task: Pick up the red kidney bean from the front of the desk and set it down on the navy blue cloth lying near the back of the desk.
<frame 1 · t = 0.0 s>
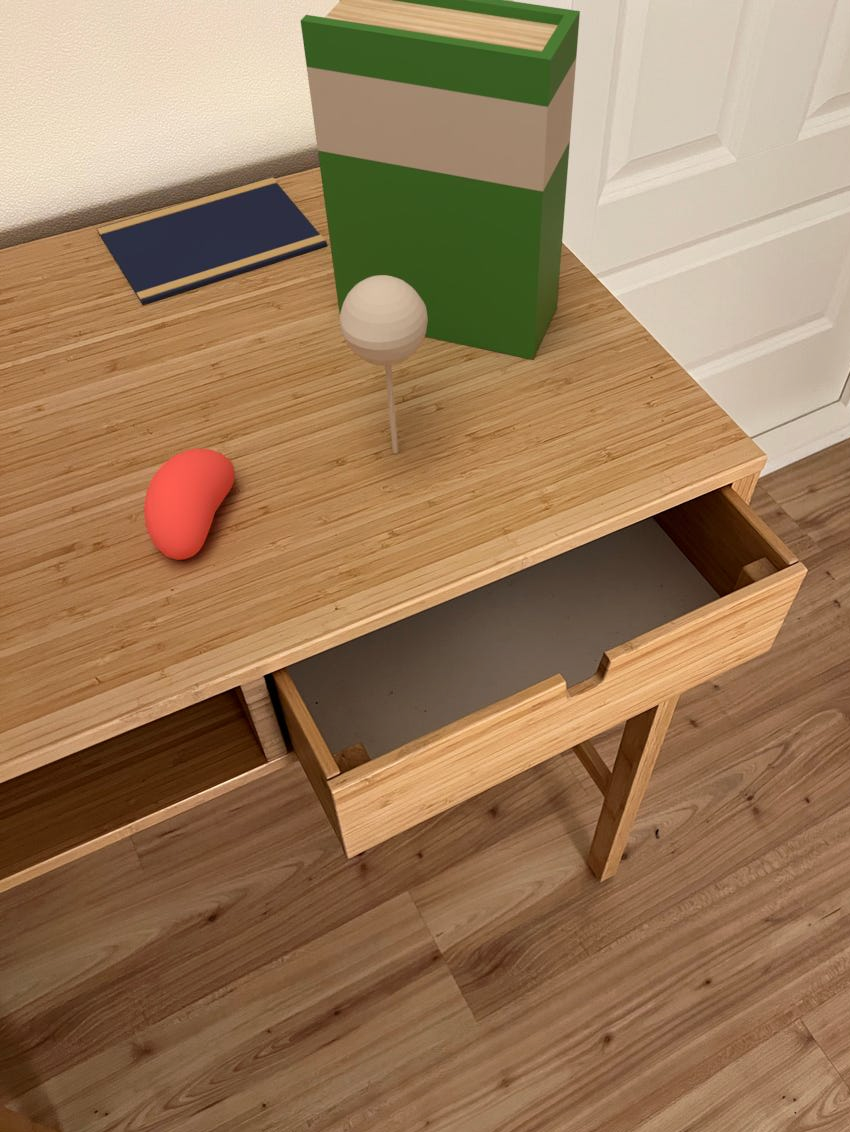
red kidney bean: (197, 521, 74), on the table
lollipop: (395, 453, 78), on the table
hardback book: (449, 315, 88), on the table
cloth: (211, 239, 94), on the table
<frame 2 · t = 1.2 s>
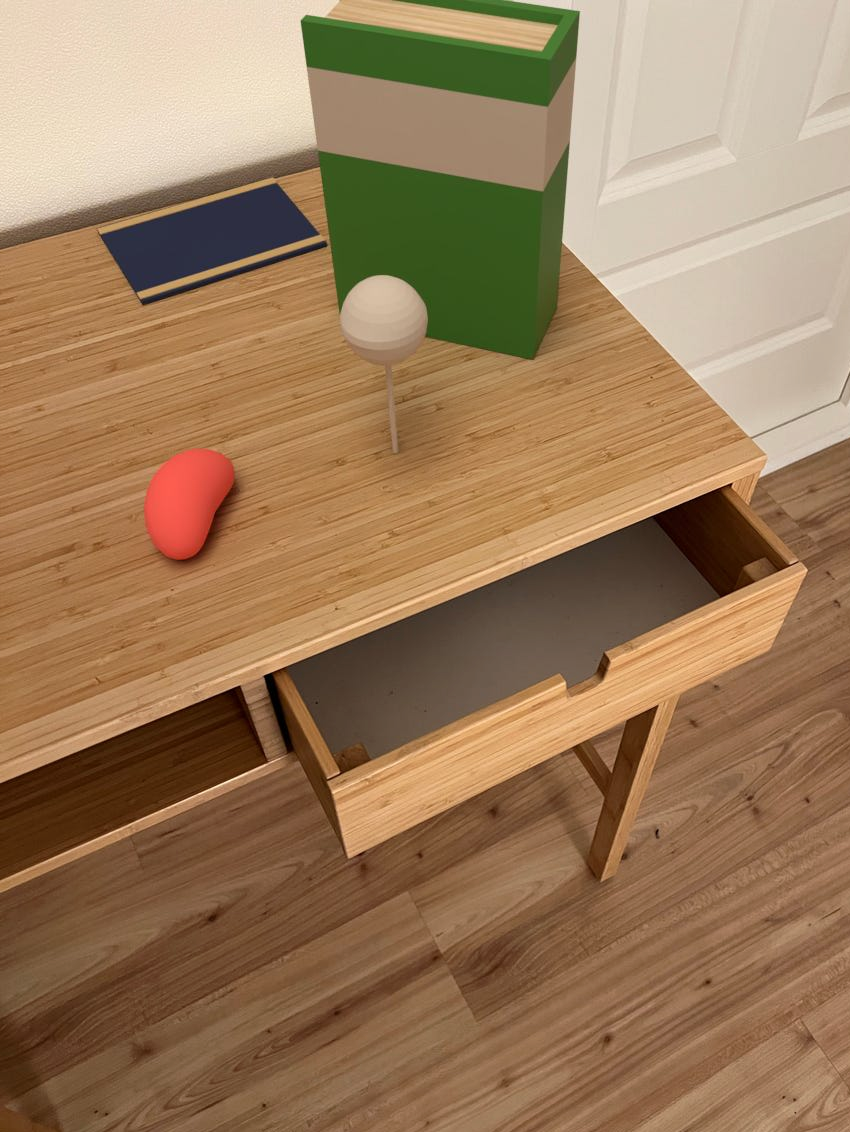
nothing on the table moved.
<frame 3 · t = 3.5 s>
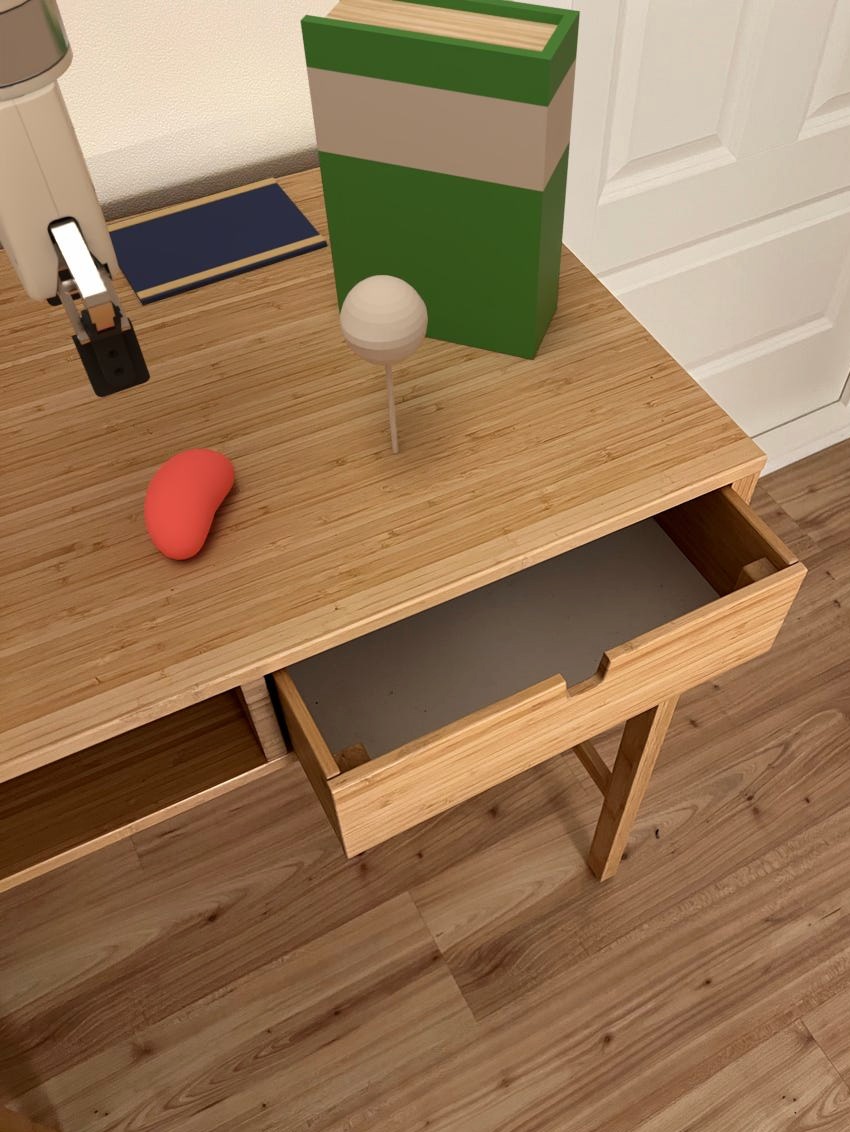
hand: (97, 340, 60), 16 cm above the table, tool pointing down, fingers open, 9 cm apart
nothing on the table moved.
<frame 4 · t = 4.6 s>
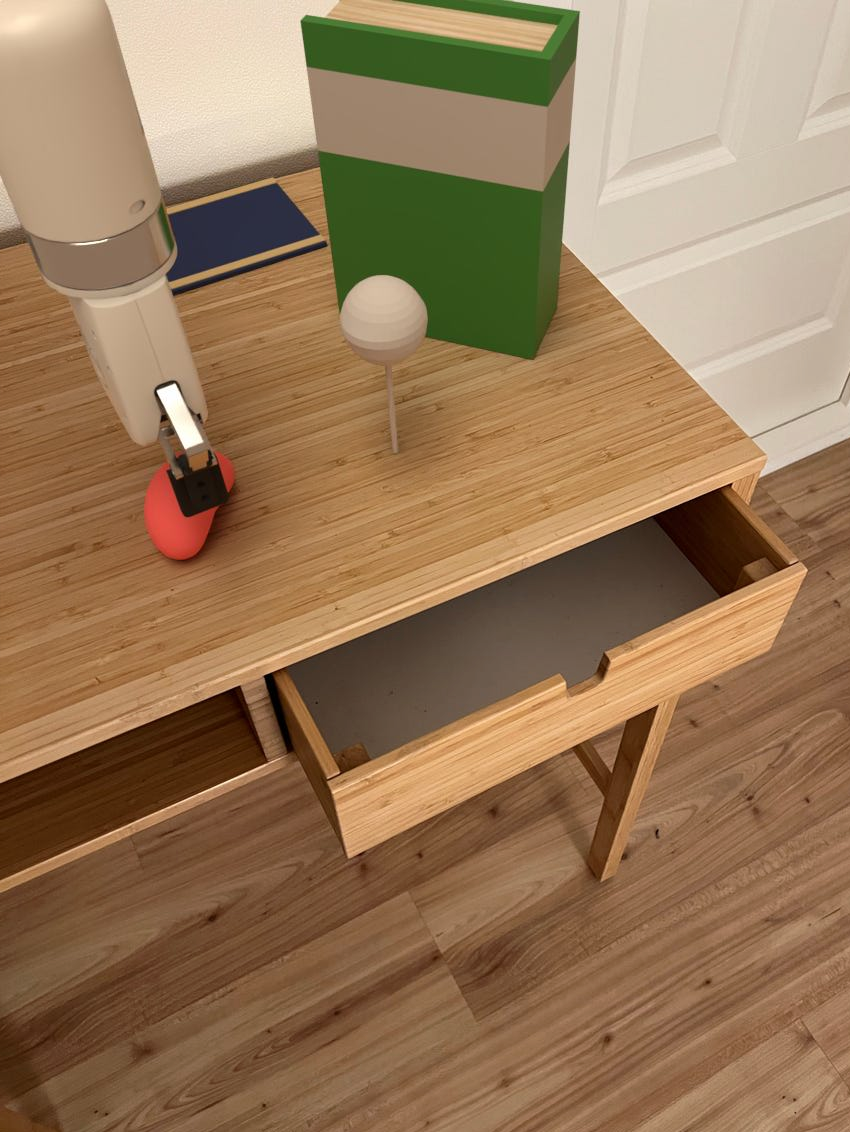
hand: (180, 462, 68), 6 cm above the table, tool pointing down, fingers open, 9 cm apart
nothing on the table moved.
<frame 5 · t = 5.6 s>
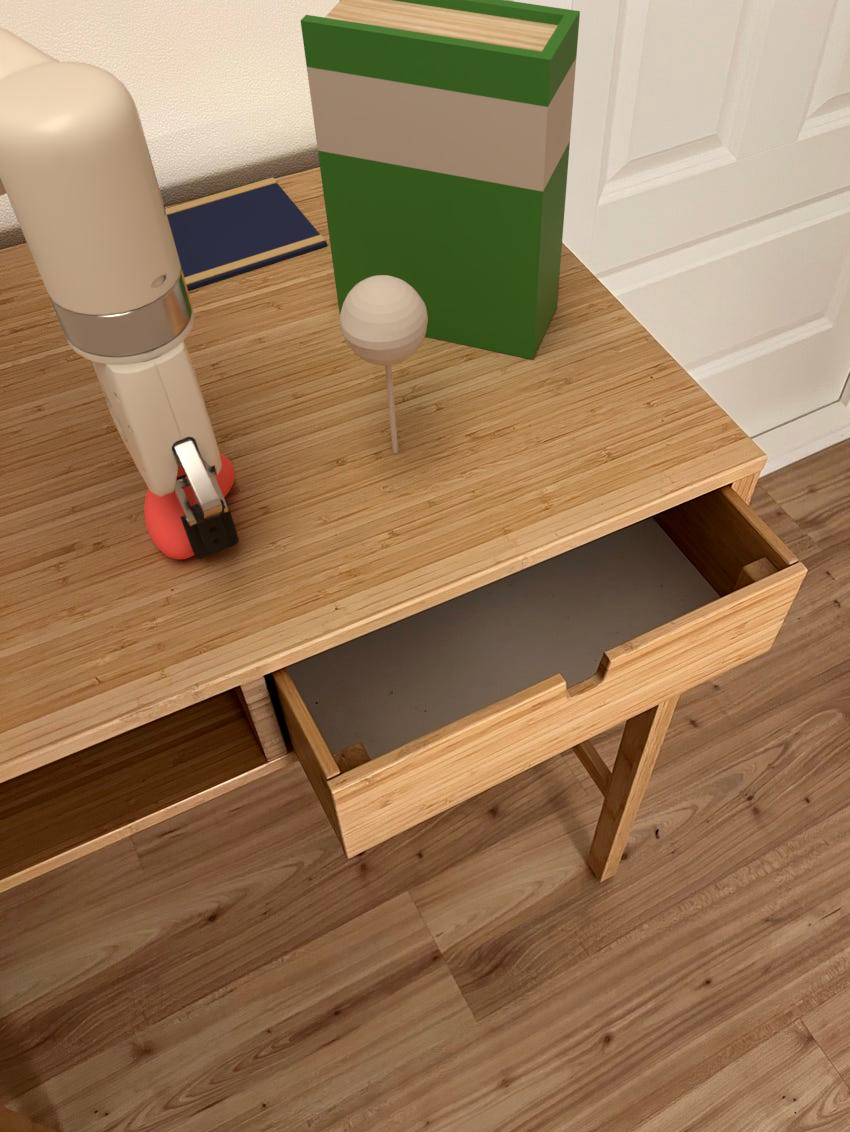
hand: (194, 509, 72), 1 cm above the table, tool pointing down, fingers closed on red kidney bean, 8 cm apart
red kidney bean: (197, 520, 74), on the table, touching gripper
everything else where it was.
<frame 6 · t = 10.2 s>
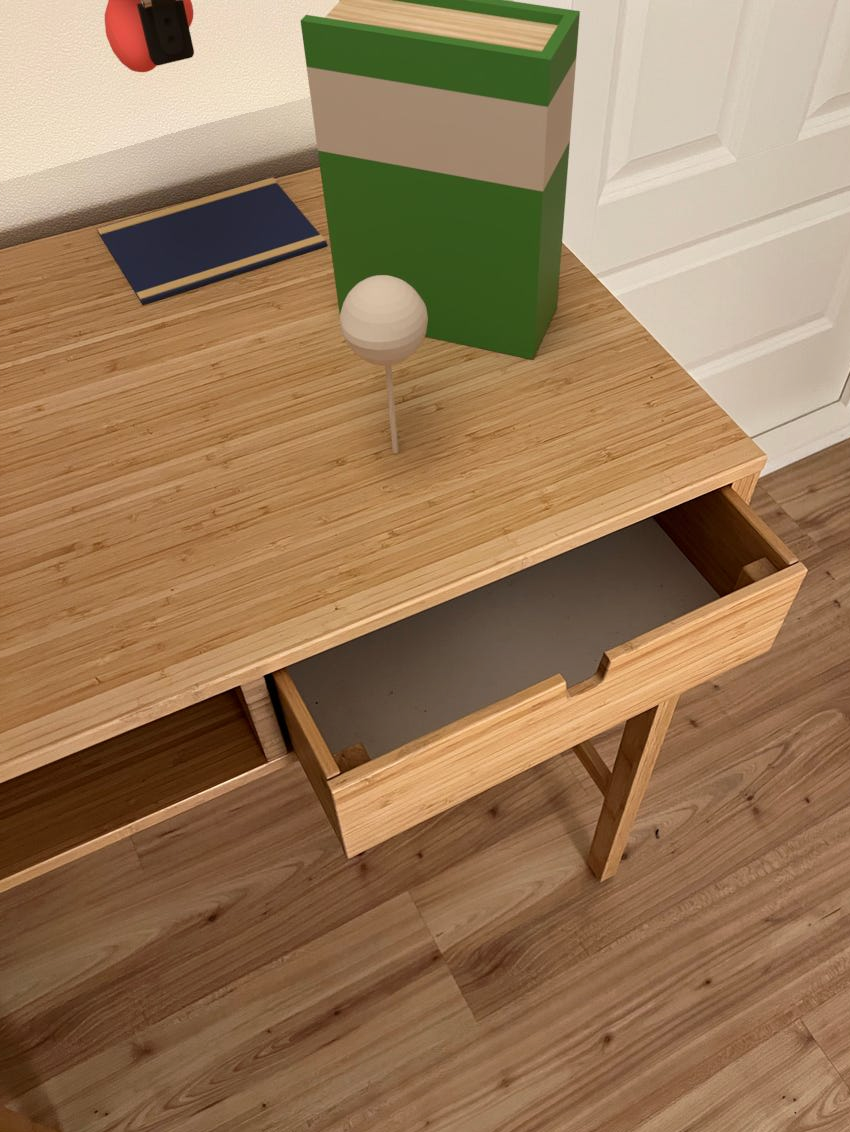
hand: (153, 35, 76), 19 cm above the table, tool pointing down, fingers closed on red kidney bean, 8 cm apart
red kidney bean: (156, 54, 77), point 18 cm above the table, touching gripper
everything else where it was.
when the fingers open (2 cm above the table, at t = 15.0 s): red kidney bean stays where it is, resting on cloth.
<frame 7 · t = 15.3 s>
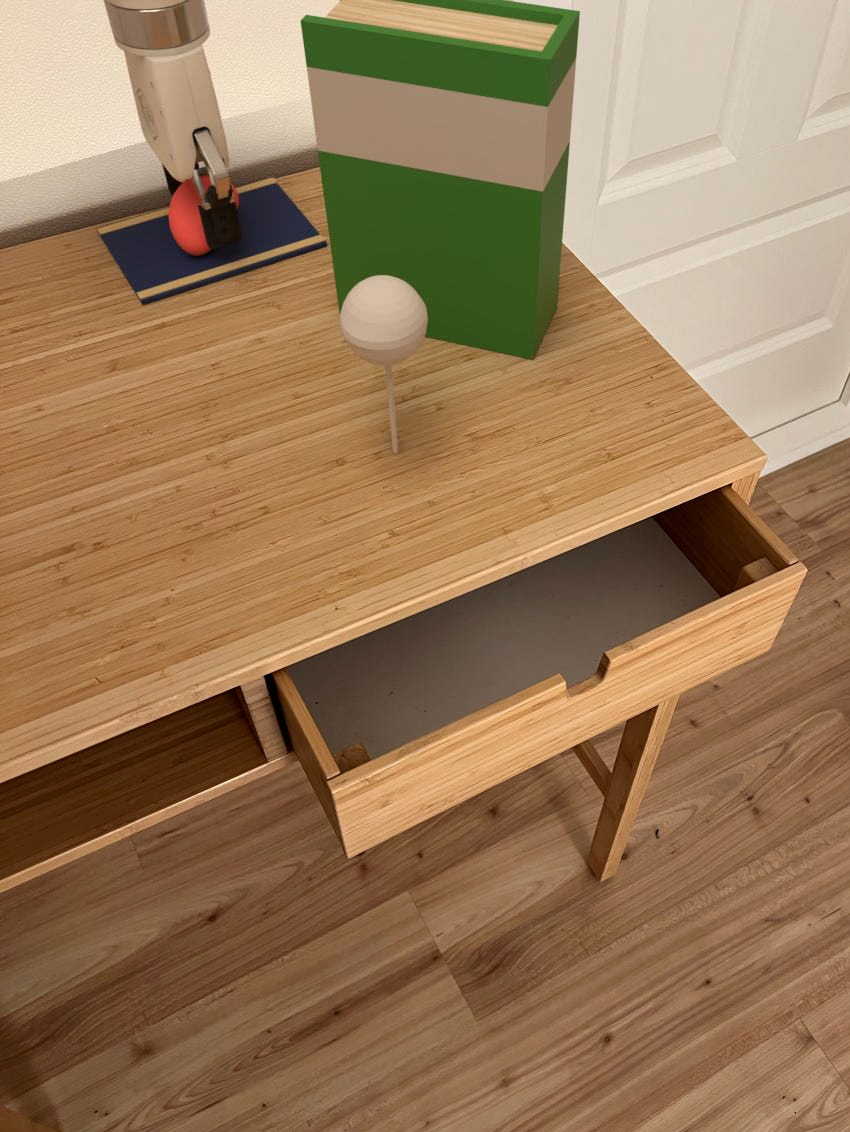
hand: (205, 216, 92), 2 cm above the table, tool pointing down, fingers open, 9 cm apart
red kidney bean: (209, 235, 94), resting on cloth
everything else where it was.
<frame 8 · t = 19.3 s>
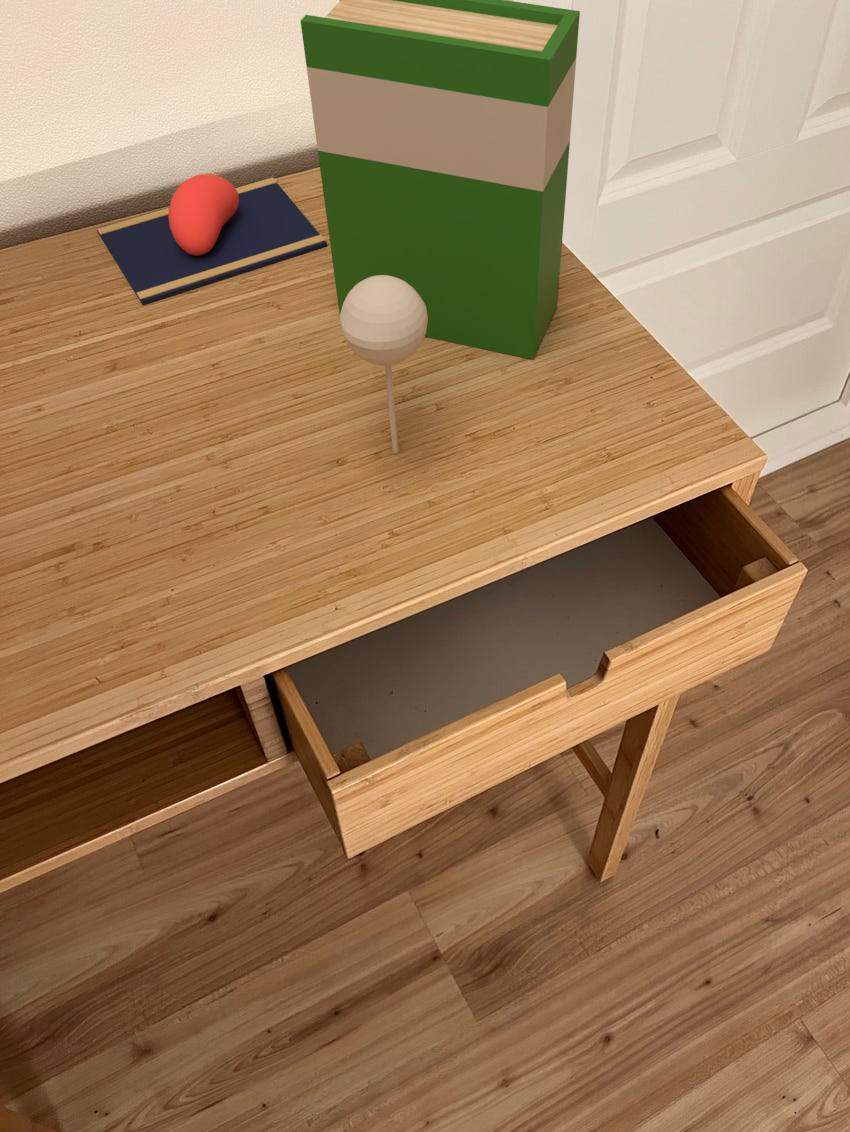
nothing on the table moved.
at the end: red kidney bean inside the target area on the cloth (0.3 cm from its centre), point 0.2 cm above the cloth's base; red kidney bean touching cloth; the gripper is holding nothing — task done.
